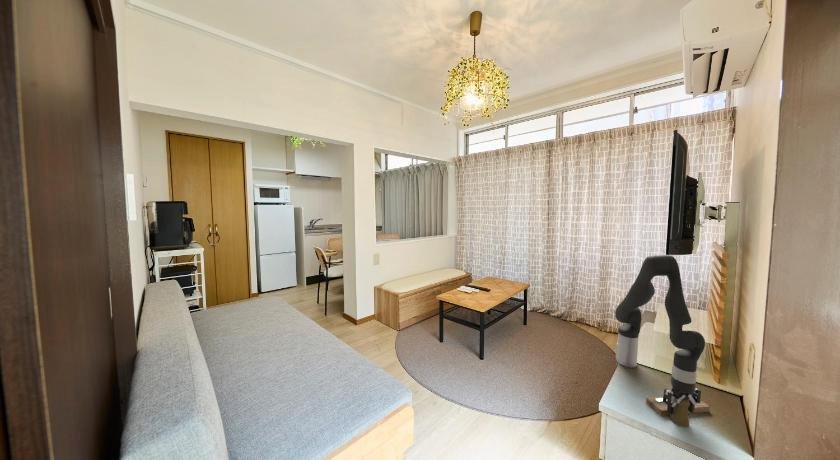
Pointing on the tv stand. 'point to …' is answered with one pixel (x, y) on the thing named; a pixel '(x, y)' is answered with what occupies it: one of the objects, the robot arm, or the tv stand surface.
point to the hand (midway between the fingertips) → (680, 412)
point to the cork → (681, 413)
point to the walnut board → (662, 407)
